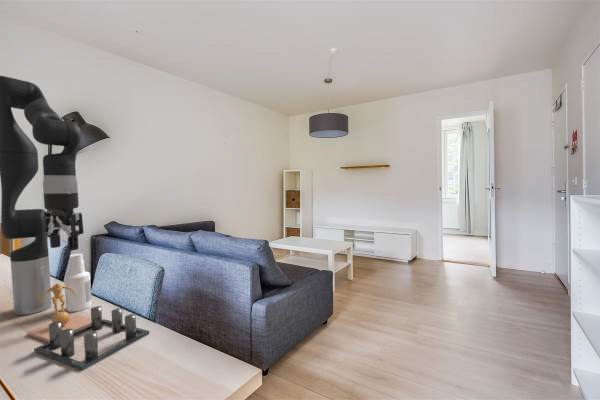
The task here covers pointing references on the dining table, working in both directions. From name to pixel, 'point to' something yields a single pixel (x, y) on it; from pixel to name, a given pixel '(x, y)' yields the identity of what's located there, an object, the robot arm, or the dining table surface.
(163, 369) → the dining table surface
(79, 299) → the white piece
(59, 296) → the figurine
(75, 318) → the terracotta tile
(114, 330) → the standoff field
